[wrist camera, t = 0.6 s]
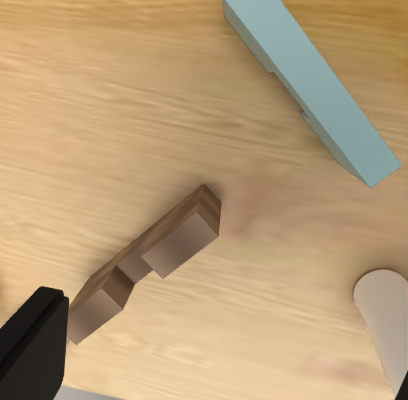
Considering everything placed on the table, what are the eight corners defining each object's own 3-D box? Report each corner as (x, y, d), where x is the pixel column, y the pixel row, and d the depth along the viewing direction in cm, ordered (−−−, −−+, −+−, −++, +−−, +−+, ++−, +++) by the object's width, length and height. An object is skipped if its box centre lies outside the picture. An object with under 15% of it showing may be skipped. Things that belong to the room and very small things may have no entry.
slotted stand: (204, 183, 35) (196, 212, 27) (221, 202, 35) (218, 236, 28) (89, 277, 39) (55, 325, 31) (106, 293, 39) (76, 345, 32)
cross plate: (224, 17, 30) (222, -5, 23) (248, -6, 30) (254, -36, 22) (338, 163, 33) (370, 188, 26) (362, 145, 33) (402, 165, 25)
